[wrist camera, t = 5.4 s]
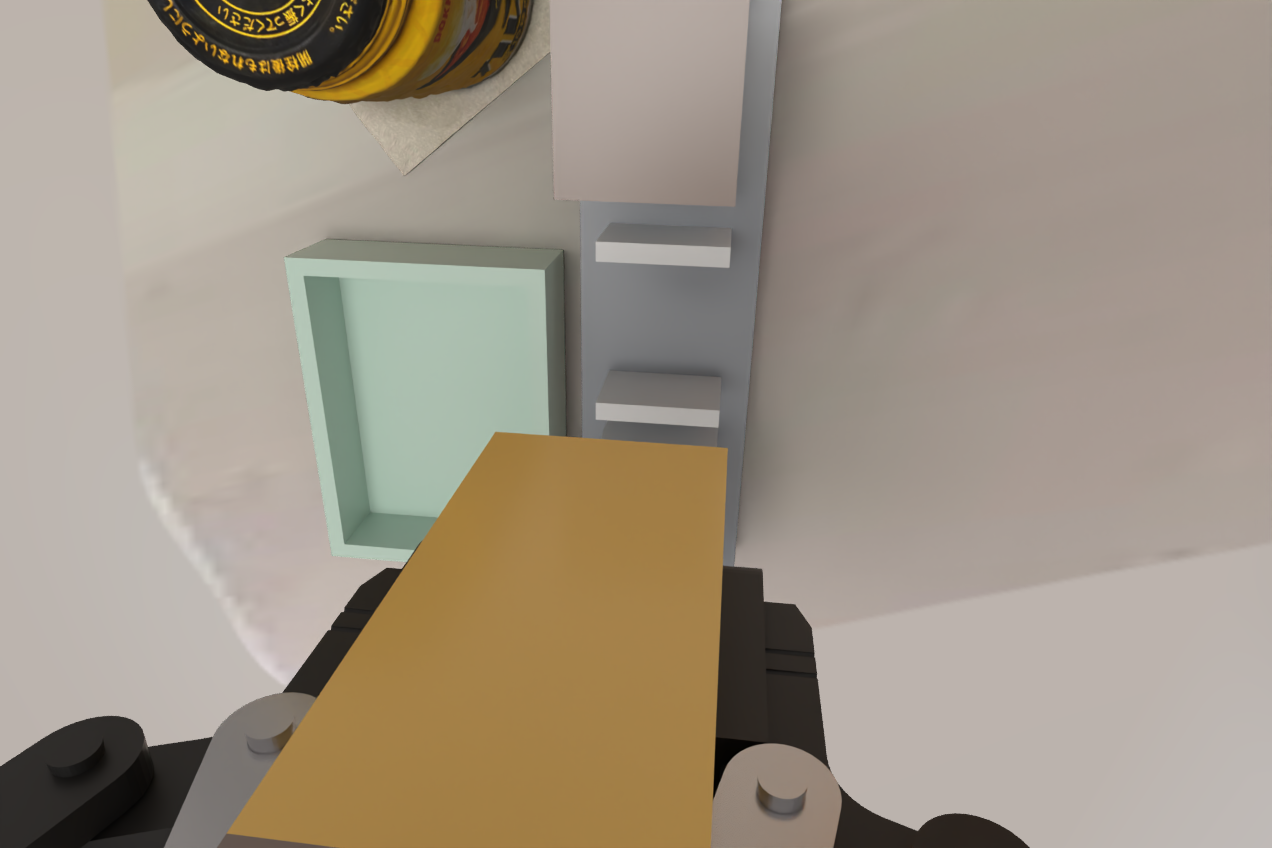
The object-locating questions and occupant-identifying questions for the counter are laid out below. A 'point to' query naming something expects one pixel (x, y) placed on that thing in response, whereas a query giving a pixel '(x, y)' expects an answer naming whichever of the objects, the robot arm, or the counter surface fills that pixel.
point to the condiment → (372, 56)
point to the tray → (420, 374)
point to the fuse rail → (666, 211)
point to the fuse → (527, 667)
